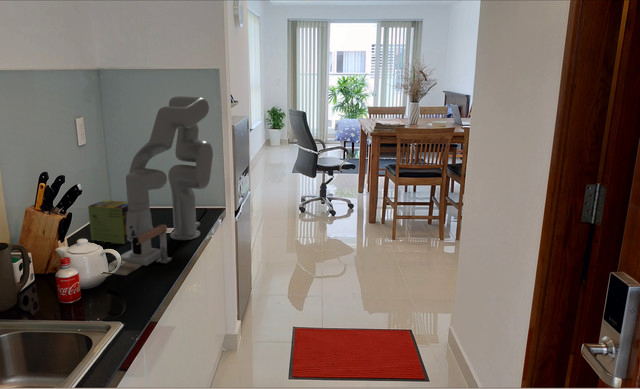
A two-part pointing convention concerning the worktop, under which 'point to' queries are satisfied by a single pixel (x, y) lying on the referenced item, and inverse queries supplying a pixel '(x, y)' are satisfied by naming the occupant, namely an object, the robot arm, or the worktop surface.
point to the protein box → (109, 221)
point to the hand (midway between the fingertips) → (141, 250)
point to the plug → (144, 248)
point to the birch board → (124, 267)
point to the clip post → (163, 249)
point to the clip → (152, 233)
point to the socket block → (142, 260)
